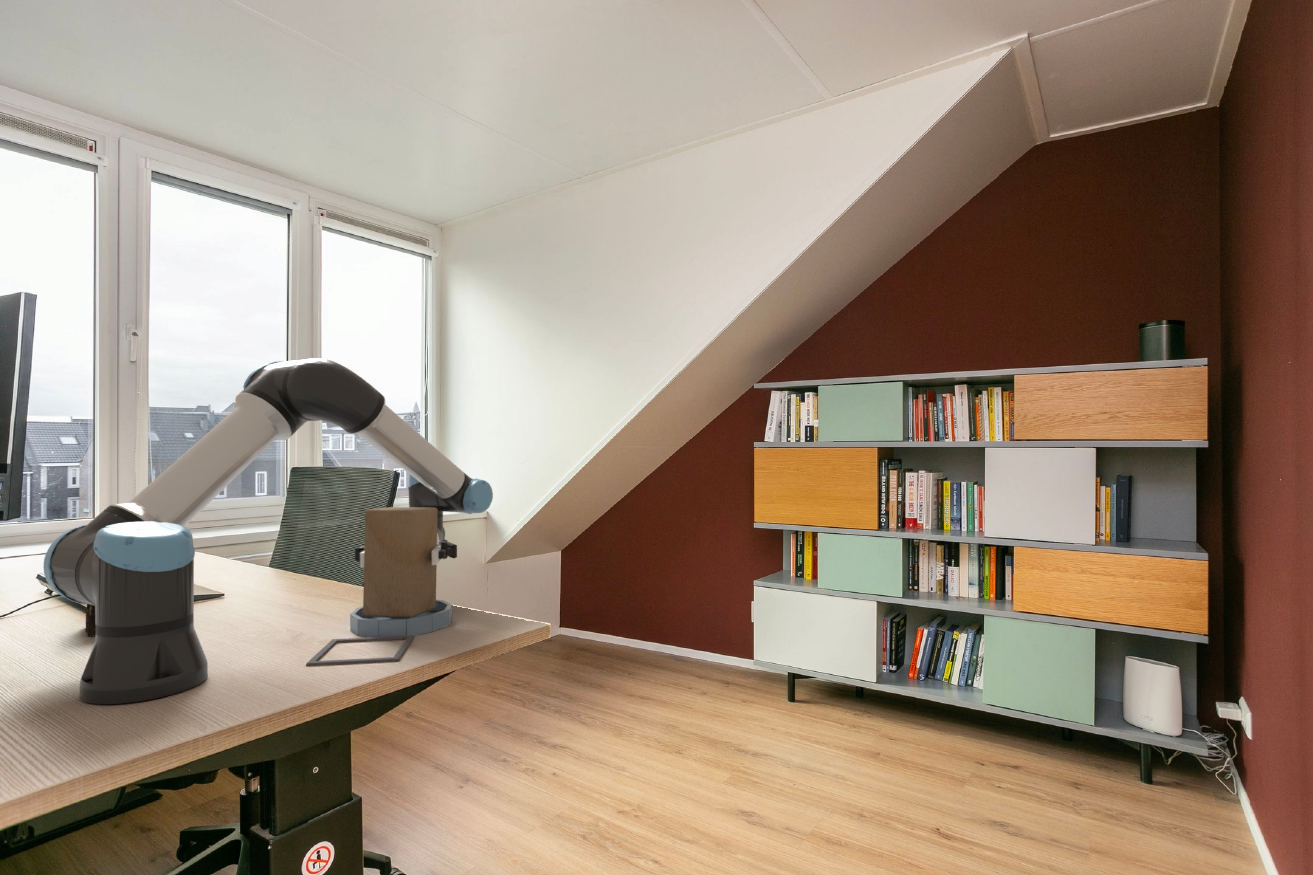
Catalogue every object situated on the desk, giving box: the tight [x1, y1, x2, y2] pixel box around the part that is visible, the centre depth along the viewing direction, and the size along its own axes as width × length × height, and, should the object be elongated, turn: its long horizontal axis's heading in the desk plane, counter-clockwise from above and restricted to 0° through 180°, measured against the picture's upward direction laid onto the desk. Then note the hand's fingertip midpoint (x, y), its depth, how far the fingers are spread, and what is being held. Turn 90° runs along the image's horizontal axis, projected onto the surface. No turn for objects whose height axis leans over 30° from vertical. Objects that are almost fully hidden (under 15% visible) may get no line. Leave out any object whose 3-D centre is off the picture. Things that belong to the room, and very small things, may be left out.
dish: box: [349, 599, 453, 638], centre depth 138 cm, size 18×18×3 cm
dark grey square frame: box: [305, 635, 416, 667], centre depth 121 cm, size 14×14×1 cm
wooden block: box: [362, 506, 438, 618], centre depth 138 cm, size 10×10×20 cm
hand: (398, 559), depth 135 cm, fingers closed on wooden block, 12 cm apart
